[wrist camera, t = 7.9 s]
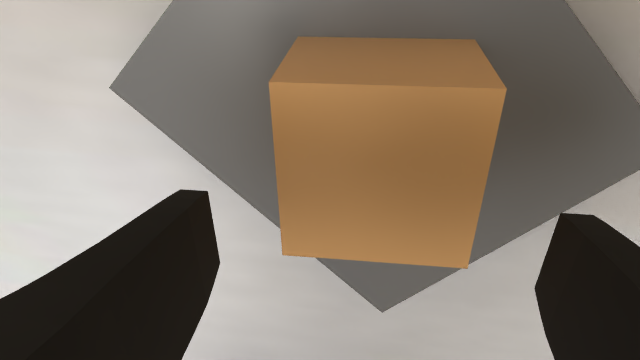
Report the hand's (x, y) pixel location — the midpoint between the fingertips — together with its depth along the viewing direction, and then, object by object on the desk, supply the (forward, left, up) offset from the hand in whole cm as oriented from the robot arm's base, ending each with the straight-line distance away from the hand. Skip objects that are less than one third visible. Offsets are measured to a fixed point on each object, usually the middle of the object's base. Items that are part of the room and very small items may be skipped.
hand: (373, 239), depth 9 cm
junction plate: (0, 0, -7) cm, 7 cm away
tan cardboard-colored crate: (0, 0, -6) cm, 6 cm away
